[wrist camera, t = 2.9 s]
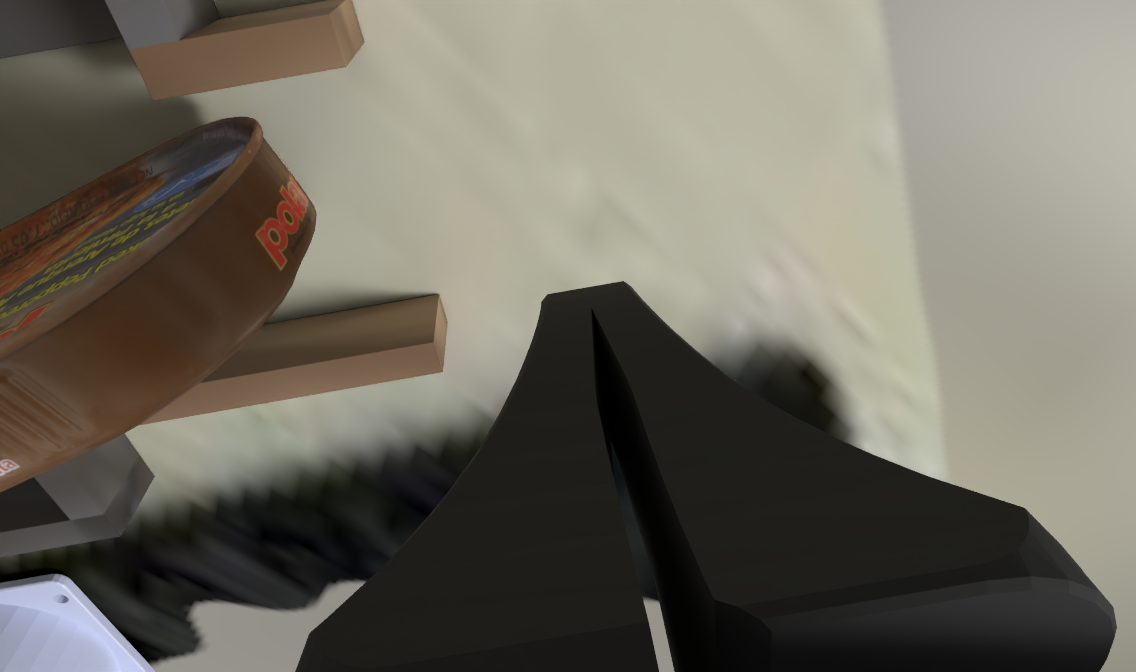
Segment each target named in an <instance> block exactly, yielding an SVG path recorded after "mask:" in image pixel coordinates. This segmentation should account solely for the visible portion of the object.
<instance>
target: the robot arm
mask: <svg viewBox="0 0 1136 672" xmlns="http://www.w3.org/2000/svg"><path fill="white" fill-rule="evenodd" d="M611 442H612V446H613V449H614V452H615V455H616V458H617V461H618V464H619V468H620V471H621V474H622V477H623V480H624V483H625V486H626V489H627V493H628V496H629V499H630V502H631V505H632V508H633V511H634V514H635V517H636V521H637V524H638V527H639V530H640V533H641V536H642V539H643V542H644V545H645V548H646V552H647V555H648V558H649V562H650V565H651V569H652V573H653V576H654V580H655V584H656V588H657V593H658V598H659V602H660V607H661V611H662V616H663V620H664V625H665V629H666V634H667V639H668V643H669V648H670V653H671V657H672V662H673V667H674V671H675V672H1099V671H1100V670H1101V668H1102V666H1103V665H1104V663H1105V661H1106V659H1107V657H1108V654H1109V652H1110V648H1111V646H1112V643H1113V640H1114V637H1115V633H1116V629H1117V626H1116V620H1115V614H1114V609H1113V606H1112V605H1111V604H1110V603H1109V601H1108V600H1107V599H1106V598H1105V597H1104V596H1103V594H1102V593H1101V592H1100V591H1099V590H1098V588H1097V587H1096V586H1095V585H1094V584H1093V583H1092V582H1091V580H1090V579H1089V578H1088V577H1087V576H1086V574H1085V573H1084V572H1083V571H1082V569H1081V568H1080V567H1079V566H1078V564H1077V563H1076V562H1075V561H1074V560H1073V558H1072V557H1071V556H1070V555H1069V554H1068V553H1067V551H1065V549H1064V548H1063V547H1062V546H1061V544H1059V542H1058V541H1057V540H1055V538H1054V537H1053V536H1052V535H1051V534H1050V533H1049V532H1047V530H1046V529H1045V528H1044V527H1043V526H1042V525H1041V524H1040V523H1039V522H1038V521H1037V520H1036V519H1035V518H1034V517H1033V516H1032V515H1031V514H1030V513H1029V512H1028V511H1027V510H1026V509H1025V508H1023V507H1020V506H1017V505H1014V504H1011V503H1008V502H1005V501H1001V500H998V499H995V498H992V497H989V496H986V495H983V494H980V493H977V492H974V491H971V490H968V489H965V488H962V487H959V486H956V485H953V484H950V483H946V482H943V481H940V480H937V479H934V478H931V477H928V476H926V475H923V474H920V473H918V472H915V471H913V470H910V469H908V468H905V467H903V466H900V465H898V464H895V463H893V462H890V461H888V460H885V459H883V458H880V457H878V456H875V455H873V454H870V453H868V452H866V451H863V450H861V449H859V448H857V447H854V446H852V445H850V444H848V443H845V442H843V441H841V440H839V439H837V438H835V437H833V436H831V435H829V434H827V433H825V432H823V431H821V430H819V429H817V428H815V427H813V426H811V425H809V424H807V423H805V422H803V421H801V420H799V419H797V418H795V417H793V416H791V415H790V414H788V413H786V412H784V411H782V410H781V409H779V408H777V407H775V406H774V405H772V404H770V403H769V402H767V401H766V400H764V399H762V398H761V397H759V396H758V395H756V394H754V393H753V392H751V391H750V390H748V389H747V388H745V387H744V386H742V385H741V384H739V383H738V382H736V381H735V380H734V379H732V378H731V377H729V376H728V375H727V374H725V373H724V372H723V371H721V370H720V369H719V368H718V367H716V366H715V365H714V364H712V363H711V362H710V361H708V360H707V359H706V358H705V357H703V356H702V355H701V354H700V353H699V352H697V351H696V350H695V349H694V348H693V347H691V346H690V345H689V344H688V343H687V342H686V341H685V340H684V339H682V338H681V337H680V336H679V335H678V334H677V333H676V332H674V331H673V330H672V329H671V328H670V327H669V326H668V325H667V324H666V323H665V322H664V321H663V320H662V319H661V318H660V317H659V316H658V315H657V314H656V313H655V312H654V311H653V310H652V309H651V308H650V307H649V306H648V305H647V304H646V303H645V302H644V301H643V300H642V299H641V298H640V296H639V295H638V294H637V293H636V292H635V291H634V289H633V288H632V287H631V286H630V285H628V284H627V283H626V282H624V281H622V282H616V283H610V284H605V285H599V286H593V287H587V288H582V289H576V290H570V291H564V292H559V293H553V294H547V296H546V297H545V298H544V299H543V301H542V302H541V311H540V315H539V320H538V323H537V327H536V330H535V333H534V336H533V339H532V342H531V345H530V348H529V350H528V353H527V355H526V358H525V360H524V363H523V365H522V368H521V370H520V373H519V375H518V377H517V380H516V382H515V384H514V386H513V388H512V390H511V392H510V394H509V396H508V398H507V400H506V402H505V404H504V406H503V408H502V410H501V412H500V414H499V416H498V417H497V419H496V421H495V423H494V424H493V426H492V428H491V430H490V431H489V433H488V435H487V436H486V438H485V440H484V441H483V443H482V444H481V446H480V447H479V449H478V450H477V452H476V454H475V455H474V457H473V458H472V460H471V461H470V463H469V464H468V465H467V467H466V468H465V469H464V471H463V472H462V474H461V475H460V476H459V478H458V479H457V480H456V482H455V483H454V485H453V486H452V487H451V489H450V490H449V492H448V493H447V494H446V495H445V497H444V498H443V499H442V500H441V502H440V503H439V504H438V505H437V507H436V508H435V509H434V510H433V512H432V513H431V514H430V515H429V516H428V517H427V518H426V520H425V521H424V522H423V523H422V524H421V525H420V526H419V527H418V529H417V530H416V531H415V532H414V533H413V534H412V535H411V536H410V537H409V539H408V540H407V541H406V542H405V543H404V544H403V545H402V546H401V548H400V549H399V550H398V551H397V552H396V553H395V554H394V555H393V556H392V557H391V558H390V560H389V561H388V562H387V563H386V564H385V565H384V566H383V567H382V568H381V569H380V570H379V571H378V572H377V573H376V574H374V575H373V576H372V577H371V578H370V579H369V580H368V581H367V582H366V583H365V584H364V585H363V586H361V587H360V588H359V589H358V590H357V591H356V592H355V593H354V594H353V595H352V596H351V597H349V598H348V599H347V600H346V601H345V602H344V603H343V604H342V605H341V606H340V607H339V608H338V609H336V610H335V612H334V613H332V614H331V615H330V616H329V617H328V618H327V619H325V620H324V621H323V622H322V623H321V624H320V625H319V626H317V627H316V628H315V629H314V630H313V631H312V632H311V633H310V634H309V636H308V639H307V641H306V644H305V647H304V650H303V653H302V655H301V658H300V661H299V663H298V666H297V669H296V671H295V672H659V669H658V664H657V660H656V655H655V650H654V645H653V641H652V636H651V631H650V626H649V622H648V618H647V614H646V610H645V606H644V602H643V598H642V594H641V590H640V586H639V582H638V578H637V574H636V570H635V566H634V562H633V558H632V554H631V550H630V546H629V542H628V537H627V533H626V529H625V525H624V521H623V516H622V512H621V508H620V504H619V499H618V495H617V491H616V487H615V480H614V469H613V458H612V448H611ZM0 672H156V671H155V670H154V669H153V668H152V667H151V666H150V664H149V663H148V662H147V661H146V660H145V659H144V658H143V657H142V656H141V655H140V654H139V653H138V652H137V650H136V649H135V648H134V647H133V646H132V645H131V644H130V643H129V642H128V641H127V640H126V639H125V637H124V636H123V635H122V634H121V633H120V632H119V631H118V630H117V629H116V628H115V627H114V626H113V625H112V623H111V622H110V621H109V620H108V619H107V618H106V617H105V616H104V615H103V614H102V613H101V612H100V611H99V609H98V608H97V607H96V606H95V605H94V604H93V603H92V602H91V601H90V600H89V599H88V598H87V596H86V595H85V594H84V593H83V592H82V591H81V590H80V589H79V588H78V587H77V586H76V585H75V584H74V582H73V581H72V580H71V579H69V578H68V577H67V576H64V575H61V574H49V575H43V576H37V577H31V578H26V579H20V580H14V581H9V582H3V583H0Z"/></svg>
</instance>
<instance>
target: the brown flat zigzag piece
mask: <svg viewBox="0 0 1136 672" xmlns="http://www.w3.org/2000/svg"><path fill="white" fill-rule="evenodd" d="M119 37H123V39H124V41H125V43H126V45H127V47H128V49H129V51H130V53H131V55H132V57H133V59H134V61H135V63H136V65H137V67H138V69H139V72H140V74H141V76H142V78H143V80H144V82H145V84H146V86H147V88H148V90H149V92H150V94H151V96H152V98H153V100H154V101H155V100H160V99H166V98H172V97H178V96H183V95H189V94H195V93H200V92H206V91H212V90H217V89H223V88H229V87H234V86H240V85H246V84H252V83H257V82H263V81H269V80H274V79H280V78H286V77H291V76H297V75H303V74H308V73H314V72H320V71H326V70H331V69H337V68H343V67H346V66H347V65H348V64H349V62H350V61H351V60H352V58H353V57H354V56H355V54H356V53H357V52H358V50H359V49H360V48H361V46H362V45H363V44H364V39H363V36H362V32H361V29H360V26H359V22H358V19H357V16H356V12H355V9H354V6H353V2H352V0H324V1H318V2H313V3H307V4H301V5H296V6H290V7H284V8H279V9H273V10H267V11H262V12H256V13H250V14H245V15H239V16H233V17H227V18H222V19H220V16H219V14H218V11H217V9H216V6H215V4H214V1H213V0H0V58H6V57H11V56H17V55H23V54H28V53H34V52H40V51H45V50H51V49H57V48H63V47H68V46H74V45H80V44H85V43H91V42H97V41H102V40H108V39H114V38H119ZM446 333H447V319H446V316H445V312H444V309H443V305H442V302H441V299H440V295H439V294H437V295H432V296H426V297H420V298H414V299H409V300H403V301H397V302H392V303H386V304H380V305H375V306H369V307H363V308H357V309H352V310H346V311H340V312H335V313H329V314H323V315H318V316H312V317H306V318H300V319H295V320H289V321H283V322H278V323H272V324H266V325H262V326H261V327H260V328H259V329H258V330H257V331H256V332H255V333H254V334H253V335H252V337H251V338H250V339H249V340H248V341H247V342H246V343H245V344H244V345H243V346H242V347H241V348H240V349H239V350H238V351H237V352H235V353H234V354H233V355H232V356H231V357H230V358H228V359H227V360H226V361H225V362H224V363H223V364H221V365H220V366H219V367H218V368H217V369H216V370H214V371H213V372H212V373H211V374H210V375H209V376H207V377H206V378H205V379H204V380H203V381H202V382H200V383H199V384H198V385H197V386H195V387H194V388H192V389H191V390H190V391H188V392H187V393H185V394H184V395H183V396H181V397H180V398H178V399H177V400H176V401H174V402H173V403H171V404H170V405H168V406H167V407H165V408H164V409H163V410H161V411H160V412H158V413H157V414H155V415H154V416H152V417H151V418H149V419H148V420H146V421H145V422H143V423H141V424H139V425H143V424H149V423H154V422H160V421H166V420H171V419H177V418H183V417H189V416H194V415H200V414H206V413H211V412H217V411H223V410H228V409H234V408H240V407H246V406H251V405H257V404H263V403H268V402H274V401H280V400H285V399H291V398H297V397H303V396H308V395H314V394H320V393H325V392H331V391H337V390H342V389H348V388H354V387H360V386H365V385H371V384H377V383H382V382H388V381H394V380H400V379H405V378H411V377H417V376H422V375H428V374H434V373H439V372H443V365H444V354H445V343H446ZM154 477H155V476H154V475H153V473H152V472H151V471H150V469H149V468H148V466H147V465H146V463H145V462H144V461H143V459H142V458H141V456H140V455H139V454H138V452H137V451H136V449H135V448H134V447H133V445H132V444H131V442H130V441H129V440H128V438H127V437H126V435H125V434H122V435H120V436H118V437H117V438H115V439H113V440H111V441H109V442H107V443H105V444H103V445H101V446H99V447H97V448H95V449H92V450H90V451H88V452H86V453H84V454H82V455H79V456H77V457H75V458H73V459H71V460H69V461H67V462H65V463H63V464H61V465H58V466H55V467H53V468H52V469H50V470H48V471H46V472H44V473H41V474H39V475H36V476H34V477H32V478H30V479H28V480H26V481H24V482H22V483H20V484H18V485H16V486H13V487H11V488H9V489H7V490H5V491H3V492H0V557H4V556H10V555H16V554H22V553H27V552H33V551H39V550H44V549H50V548H56V547H62V546H67V545H73V544H79V543H84V542H90V541H96V540H102V539H107V538H113V537H119V536H122V534H123V532H124V530H125V528H126V527H127V525H128V523H129V521H130V520H131V518H132V516H133V514H134V512H135V511H136V509H137V507H138V505H139V503H140V502H141V500H142V498H143V496H144V494H145V493H146V491H147V489H148V487H149V486H150V484H151V482H152V480H153V478H154Z"/></svg>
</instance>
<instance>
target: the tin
mask: <svg viewBox="0 0 1136 672" xmlns="http://www.w3.org/2000/svg"><path fill="white" fill-rule="evenodd" d="M315 225H316V210H315V208H314V205H313V204H312V202H311V201H310V199H309V198H308V196H307V195H306V193H305V192H304V190H303V189H302V187H301V186H300V184H299V183H298V182H297V181H296V179H295V178H294V177H293V175H292V174H291V173H290V172H289V170H288V169H287V168H286V166H285V165H284V164H283V163H282V161H281V160H280V159H279V157H278V156H277V155H276V154H275V152H274V151H273V150H272V148H271V147H270V146H269V144H268V143H267V142H266V140H265V139H264V137H263V132H262V128H261V126H260V124H259V123H258V122H257V121H256V120H255V119H253V118H249V117H234V118H226V119H221V120H218V121H215V122H212V123H209V124H206V125H204V126H201V127H198V128H196V129H194V130H191V131H189V132H187V133H185V134H183V135H181V136H179V137H177V138H176V139H173V140H171V141H168V142H166V143H164V144H162V145H160V146H158V147H156V148H154V149H152V150H150V151H148V152H146V153H145V154H143V155H141V156H139V157H137V158H135V159H133V160H131V161H129V162H128V163H126V164H124V165H123V166H120V167H118V168H116V169H115V170H113V171H111V172H109V173H107V174H105V175H103V176H101V177H100V178H98V179H96V180H94V181H93V182H91V183H89V184H87V185H85V186H83V187H81V188H79V189H77V190H75V191H73V192H72V193H70V194H68V195H66V196H65V197H63V198H61V199H59V200H57V201H55V202H53V203H51V204H49V205H47V206H46V207H44V208H42V209H40V210H38V211H36V212H34V213H32V214H30V215H29V216H27V217H25V218H23V219H21V220H19V221H17V222H15V223H14V224H12V225H10V226H8V227H6V228H4V229H2V230H0V492H3V491H5V490H7V489H9V488H11V487H13V486H16V485H18V484H20V483H22V482H24V481H26V480H28V479H30V478H32V477H34V476H36V475H39V474H41V473H44V472H46V471H48V470H50V469H52V468H53V467H55V466H58V465H61V464H63V463H65V462H67V461H69V460H71V459H73V458H75V457H77V456H79V455H82V454H84V453H86V452H88V451H90V450H92V449H95V448H97V447H99V446H101V445H103V444H105V443H107V442H109V441H111V440H113V439H115V438H117V437H118V436H120V435H122V434H124V433H125V432H127V431H129V430H131V429H132V428H134V427H136V426H138V425H139V424H141V423H143V422H145V421H146V420H148V419H149V418H151V417H152V416H154V415H155V414H157V413H158V412H160V411H161V410H163V409H164V408H165V407H167V406H168V405H170V404H171V403H173V402H174V401H176V400H177V399H178V398H180V397H181V396H183V395H184V394H185V393H187V392H188V391H190V390H191V389H192V388H194V387H195V386H197V385H198V384H199V383H200V382H202V381H203V380H204V379H205V378H206V377H207V376H209V375H210V374H211V373H212V372H213V371H214V370H216V369H217V368H218V367H219V366H220V365H221V364H223V363H224V362H225V361H226V360H227V359H228V358H230V357H231V356H232V355H233V354H234V353H235V352H237V351H238V350H239V349H240V348H241V347H242V346H243V345H244V344H245V343H246V342H247V341H248V340H249V339H250V338H251V337H252V335H253V334H254V333H255V332H256V331H257V330H258V329H259V328H260V327H261V326H262V325H263V324H264V323H265V321H266V320H267V319H268V318H269V317H270V316H271V315H272V314H273V312H274V311H275V310H276V309H277V308H278V306H279V305H280V304H281V303H282V301H283V300H284V298H285V296H286V295H287V293H288V291H289V290H290V288H291V286H292V284H293V282H294V279H295V276H296V274H297V271H298V269H299V266H300V264H301V262H302V259H303V257H304V255H305V253H306V251H307V249H308V247H309V245H310V242H311V240H312V237H313V234H314V231H315Z"/></svg>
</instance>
